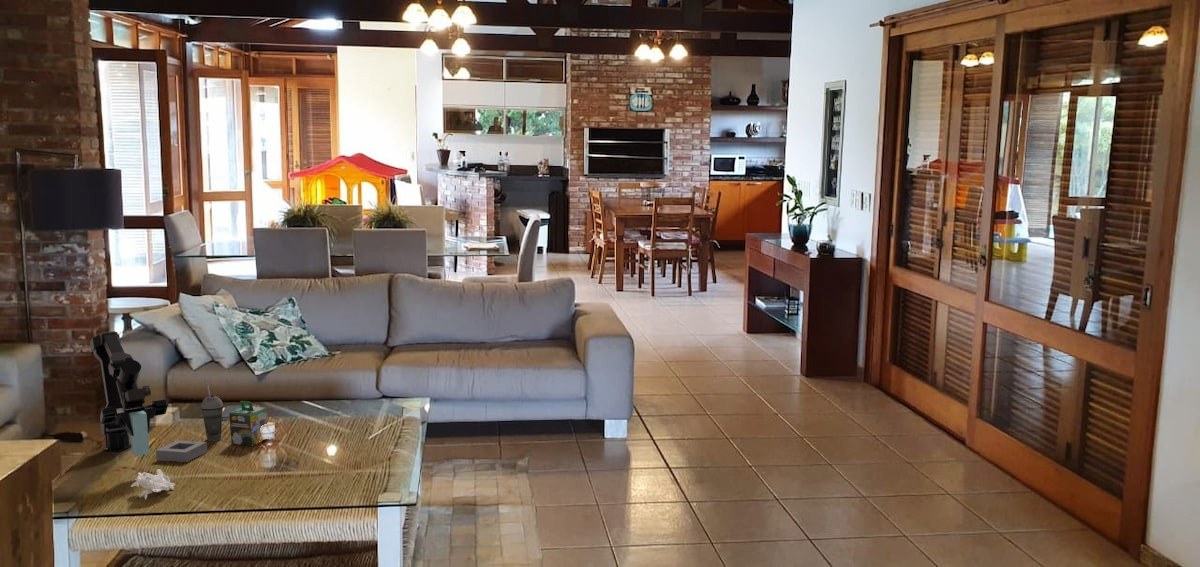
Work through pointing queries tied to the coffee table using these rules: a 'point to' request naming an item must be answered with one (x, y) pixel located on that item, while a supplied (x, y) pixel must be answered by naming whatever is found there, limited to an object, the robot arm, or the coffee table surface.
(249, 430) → the chalk box
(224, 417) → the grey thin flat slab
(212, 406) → the beverage cup
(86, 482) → the coffee table surface
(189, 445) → the socket
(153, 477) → the white crumpled lump
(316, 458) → the coffee table surface
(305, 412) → the coffee table surface
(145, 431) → the peg
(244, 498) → the coffee table surface
